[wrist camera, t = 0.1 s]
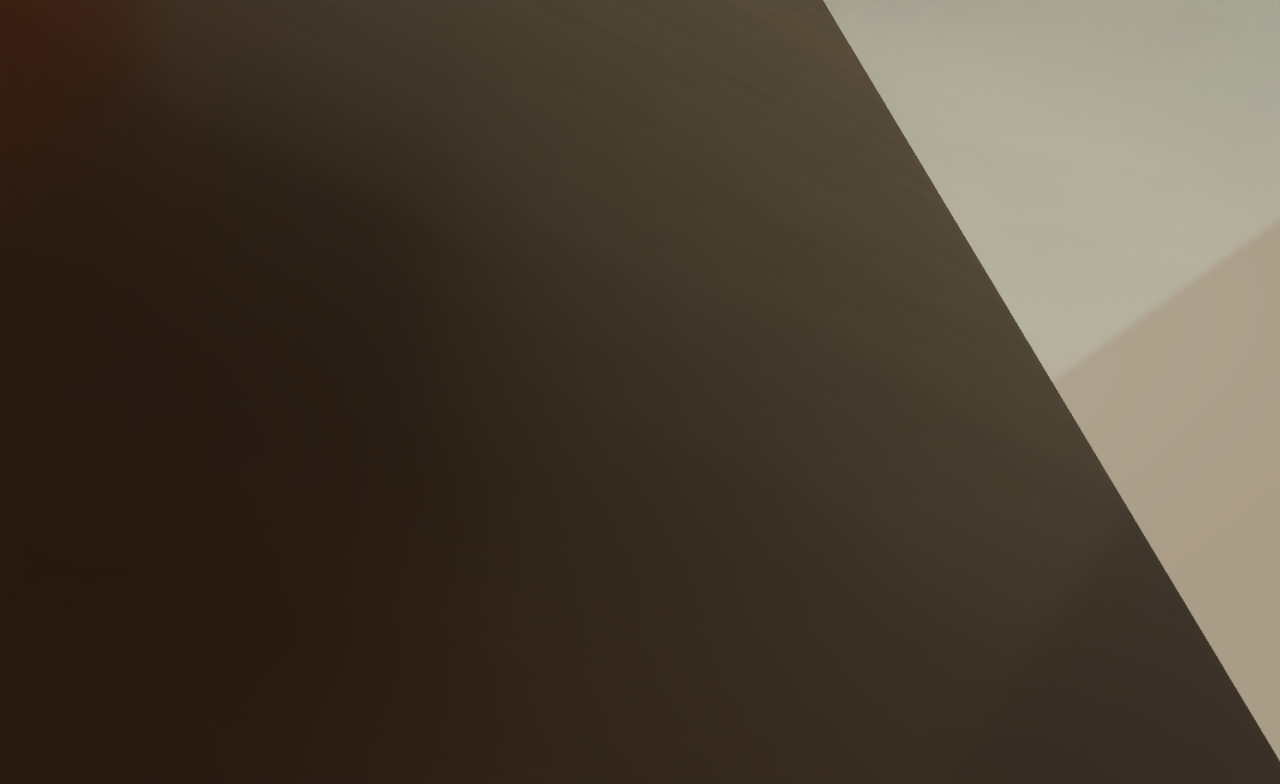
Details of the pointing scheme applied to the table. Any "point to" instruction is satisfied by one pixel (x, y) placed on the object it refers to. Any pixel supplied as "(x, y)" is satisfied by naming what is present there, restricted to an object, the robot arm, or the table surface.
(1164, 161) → the table surface
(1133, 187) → the table surface
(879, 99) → the wooden l-shaped bracket
